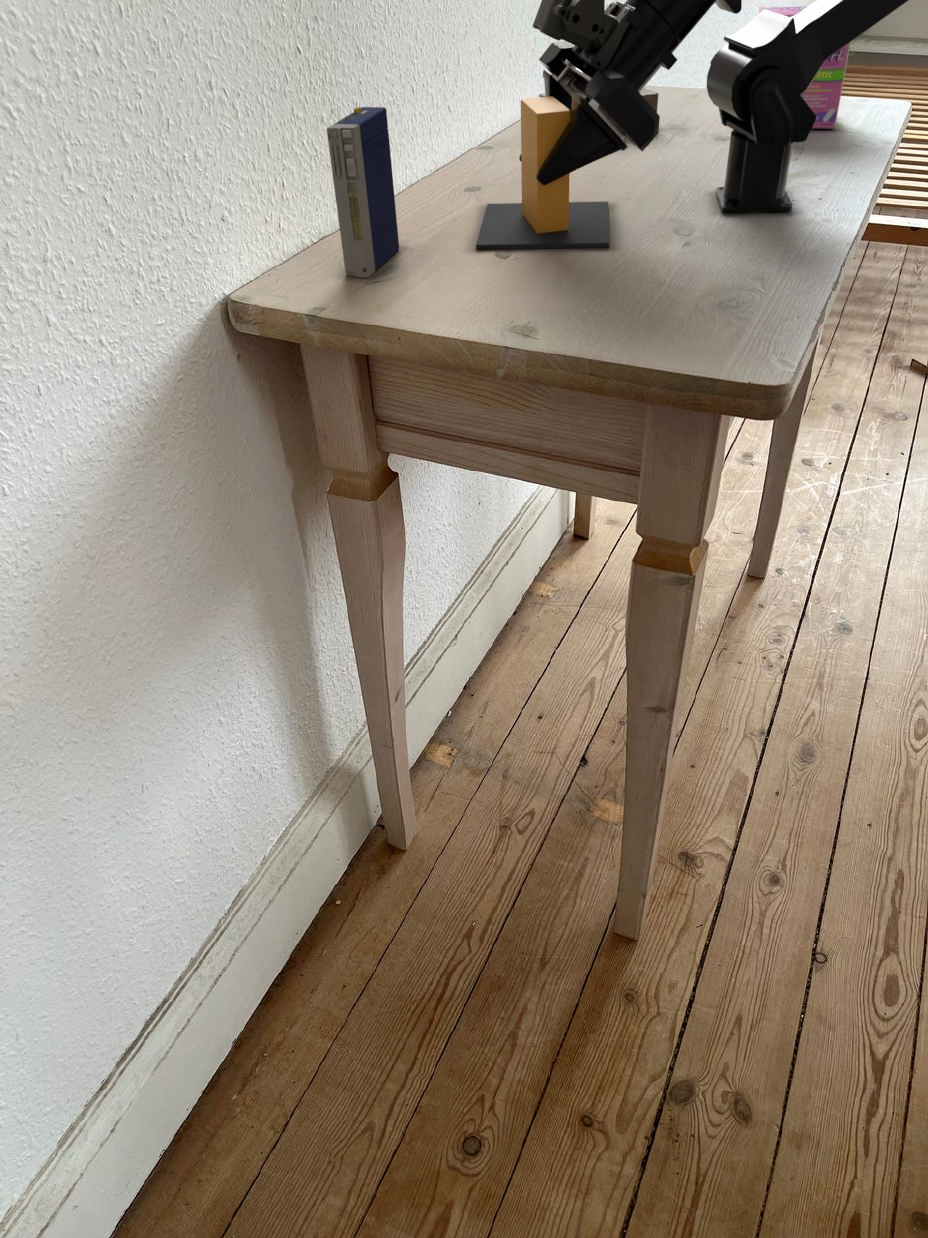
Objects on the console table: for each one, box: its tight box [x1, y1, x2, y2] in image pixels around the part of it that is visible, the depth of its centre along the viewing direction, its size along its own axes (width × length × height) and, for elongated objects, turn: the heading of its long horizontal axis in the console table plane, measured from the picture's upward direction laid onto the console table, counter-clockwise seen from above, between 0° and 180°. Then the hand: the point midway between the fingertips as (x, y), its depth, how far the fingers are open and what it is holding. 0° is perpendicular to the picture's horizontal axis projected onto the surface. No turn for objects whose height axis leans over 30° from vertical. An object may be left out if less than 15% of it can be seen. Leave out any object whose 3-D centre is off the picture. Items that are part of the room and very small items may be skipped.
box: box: [758, 5, 852, 130], centre depth 109 cm, size 10×6×12 cm, turn 76°
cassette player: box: [326, 106, 400, 279], centre depth 80 cm, size 7×2×12 cm, turn 162°
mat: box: [475, 201, 610, 250], centre depth 89 cm, size 12×12×1 cm
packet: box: [520, 96, 571, 234], centre depth 86 cm, size 3×6×10 cm, turn 11°
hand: (530, 171), depth 86 cm, fingers closed on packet, 6 cm apart
